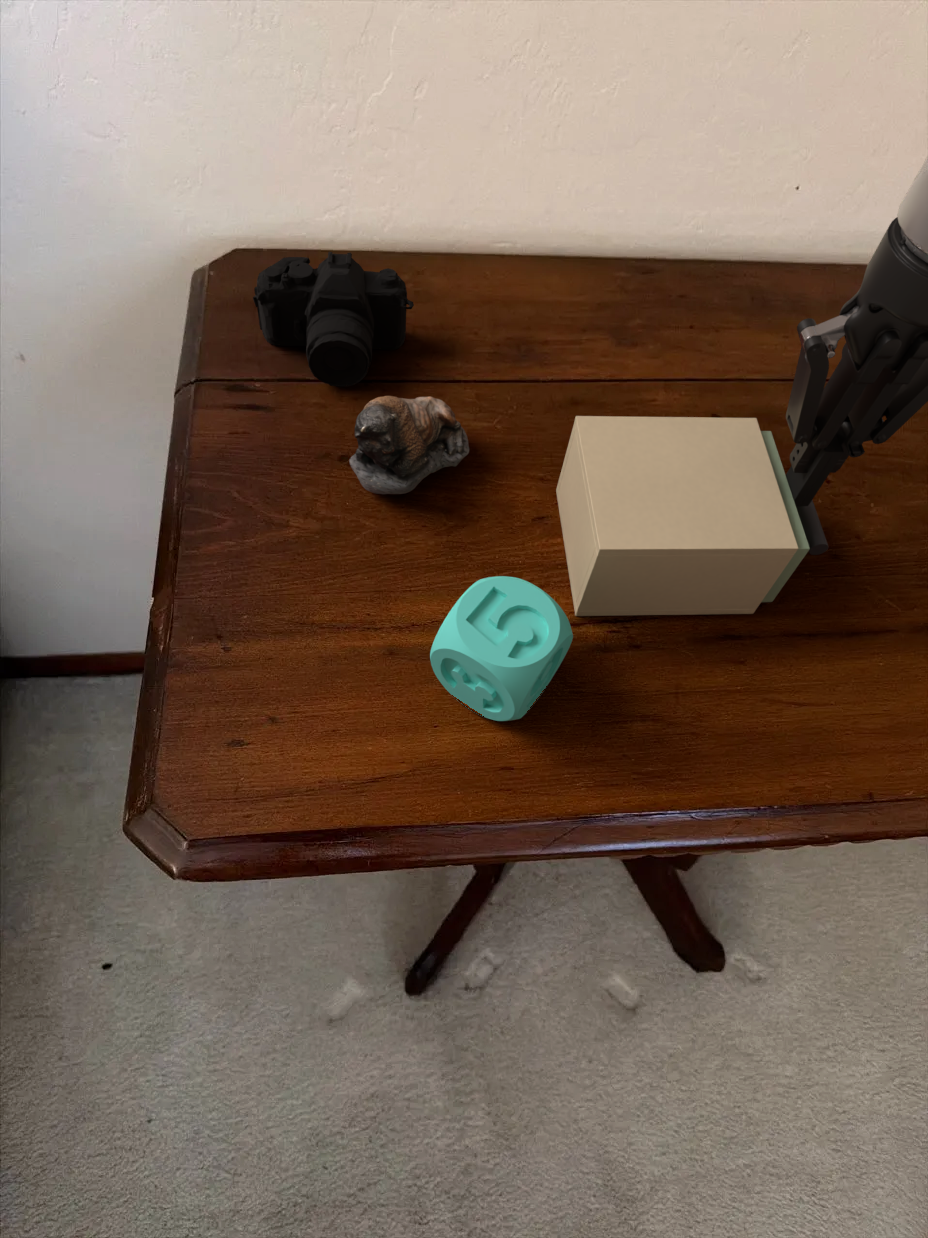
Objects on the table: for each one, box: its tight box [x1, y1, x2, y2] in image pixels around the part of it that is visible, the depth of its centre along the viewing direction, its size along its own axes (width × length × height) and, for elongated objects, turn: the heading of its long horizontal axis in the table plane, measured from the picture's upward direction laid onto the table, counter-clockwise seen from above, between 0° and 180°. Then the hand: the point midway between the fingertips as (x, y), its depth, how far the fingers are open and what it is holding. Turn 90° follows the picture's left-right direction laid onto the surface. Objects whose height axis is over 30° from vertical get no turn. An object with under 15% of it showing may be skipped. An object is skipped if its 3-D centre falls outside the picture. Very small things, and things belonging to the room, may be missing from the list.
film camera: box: [252, 251, 415, 388], centre depth 84 cm, size 15×10×9 cm, turn 92°
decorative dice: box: [429, 575, 574, 722], centre depth 67 cm, size 8×8×8 cm
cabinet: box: [555, 415, 798, 617], centre depth 74 cm, size 16×14×10 cm
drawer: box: [760, 430, 829, 603], centre depth 75 cm, size 18×12×8 cm
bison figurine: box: [348, 395, 470, 495], centre depth 76 cm, size 12×7×10 cm, turn 136°
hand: (795, 493), depth 73 cm, fingers closed
